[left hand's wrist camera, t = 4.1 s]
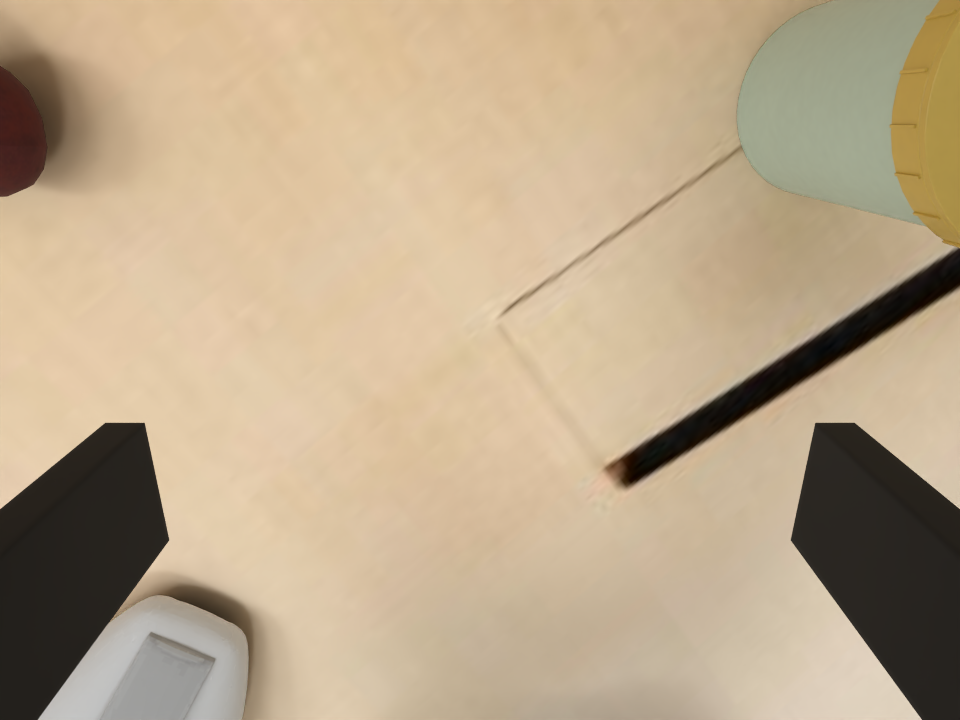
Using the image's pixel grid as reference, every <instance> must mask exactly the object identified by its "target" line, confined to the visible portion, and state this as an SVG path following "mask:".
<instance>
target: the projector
mask: <svg viewBox="0 0 960 720" xmlns="http://www.w3.org/2000/svg"><path fill="white" fill-rule="evenodd" d="M248 662H249V657H248V643H247V639H246V636H245V634H244V633H243V631H242V630H241V629H240V628H239V627H238V626H236V625H235V624H233V623H230V622H228V621H226V620H224V619H222V618H220V617H218V616H216V615H214V614H212V613H210V612H208V611H205V610H203V609H201V608H198V607H196V606H193V605H191V604H188V603H185V602H182V601H179V600H176V599H174V598H172V597H169V596H164V595H156V596H151V597H148V598H146V599H144V600H142V601H140V602H138V603H137V604H135V605H133V606H132V607H130V608H129V609H127V610H126V611H124V612H123V613H122V614H120V615H119V616H117V617H116V618H115V619H113V620H112V621H111V622H110V623H108V625H107V626H106V627H105V629H104V630H103V631H102V633H101V634H100V635H99V637H98V638H97V640H96V641H95V642H94V644H93V645H92V646H91V648H90V649H89V651H88V652H87V653H86V655H85V656H84V657H83V659H82V660H81V661H80V663H79V664H78V666H77V667H76V668H75V670H74V671H73V672H72V674H71V675H70V676H69V678H68V679H67V681H66V682H65V683H64V685H63V686H62V687H61V689H60V690H59V692H58V693H57V694H56V696H55V697H54V698H53V700H52V701H51V702H50V704H49V705H48V707H47V708H46V709H45V711H44V712H43V713H42V715H41V716H40V717H39V719H38V720H242V718H243V712H244V707H245V699H246V692H247V682H248Z"/></svg>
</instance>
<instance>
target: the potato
mask: <svg viewBox="0 0 960 720" xmlns="http://www.w3.org/2000/svg"><path fill="white" fill-rule="evenodd" d="M46 152H47V143H46V138H45V132H44V127H43V121H42V117H41V115H40V113H39V111H38V109H37V107H36V105H35V103H34V101H33V99H32V97H31V95H30V93H29V91H28V90H27V89H26V88H25V87H24V86H23V85H22V84H21V83H20V82H19V81H18V80H17V79H16V78H15V77H14V76H13V75H12V74H11V73H10V72H8V71H7V70H5V69H4V68H2V67H1V66H0V197H4V196H9V195H12V194H14V193H16V192H19V191H21V190H23V189H26V188H28V187H30V186H32V185H33V184H34V183H35V182H36V180H37V178H38V177H39V175H40V174H41V172H42V171H43V169H44V165H45V158H46Z"/></svg>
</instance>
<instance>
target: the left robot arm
mask: <svg viewBox="0 0 960 720" xmlns="http://www.w3.org/2000/svg"><path fill="white" fill-rule="evenodd" d="M168 541H169V537H168V532H167V527H166V523H165V518H164V513H163V508H162V504H161V499H160V494H159V489H158V485H157V480H156V475H155V470H154V465H153V461H152V456H151V451H150V446H149V442H148V437H147V432H146V427H145V423H105V424H104V425H102V426H101V427H100V428H99V429H97V430H96V431H95V432H94V433H93V434H91V435H90V436H89V437H88V438H86V439H85V440H84V441H83V442H82V443H80V444H79V445H78V446H77V447H76V448H74V449H73V450H72V451H71V452H69V453H68V454H67V455H66V456H65V457H63V458H62V459H61V460H60V461H58V462H57V463H56V464H55V465H54V466H52V467H51V468H50V469H49V470H47V471H46V472H45V473H44V474H43V475H41V476H40V477H39V478H38V479H37V480H35V481H34V482H33V483H32V484H30V485H29V486H28V487H27V488H26V489H24V490H23V491H22V492H21V493H19V494H18V495H17V496H16V497H15V498H13V499H12V500H11V501H10V502H9V503H7V504H6V505H5V506H4V507H2V508H1V509H0V720H38V719H39V717H40V716H41V715H42V713H43V712H44V711H45V709H46V708H47V707H48V705H49V704H50V702H51V701H52V700H53V698H54V697H55V696H56V694H57V693H58V692H59V690H60V689H61V687H62V686H63V685H64V683H65V682H66V681H67V679H68V678H69V676H70V675H71V674H72V672H73V671H74V670H75V668H76V667H77V666H78V664H79V663H80V661H81V660H82V659H83V657H84V656H85V655H86V653H87V652H88V651H89V649H90V648H91V646H92V645H93V644H94V642H95V641H96V640H97V638H98V637H99V635H100V634H101V633H102V631H103V630H104V629H105V627H106V626H107V625H108V623H109V622H110V620H111V619H112V618H113V616H114V615H115V614H116V612H117V611H118V610H119V608H120V607H121V605H122V604H123V603H124V601H125V600H126V599H127V597H128V596H129V594H130V593H131V592H132V590H133V589H134V588H135V586H136V585H137V584H138V582H139V581H140V579H141V578H142V577H143V575H144V574H145V573H146V571H147V570H148V569H149V567H150V566H151V564H152V563H153V562H154V560H155V559H156V558H157V556H158V555H159V553H160V552H161V551H162V549H163V548H164V547H165V545H166V544H167V543H168ZM791 541H792V543H793V544H794V545H795V547H796V548H797V549H798V551H799V552H800V553H801V555H802V556H803V558H804V559H805V560H806V562H807V563H808V564H809V566H810V567H811V569H812V570H813V571H814V573H815V574H816V575H817V577H818V578H819V579H820V581H821V582H822V584H823V585H824V586H825V588H826V589H827V590H828V592H829V593H830V594H831V596H832V597H833V599H834V600H835V601H836V603H837V604H838V605H839V607H840V608H841V610H842V611H843V612H844V614H845V615H846V616H847V618H848V619H849V620H850V622H851V623H852V625H853V626H854V627H855V629H856V630H857V631H858V633H859V634H860V635H861V637H862V638H863V640H864V641H865V642H866V644H867V645H868V646H869V648H870V649H871V651H872V652H873V653H874V655H875V656H876V657H877V659H878V660H879V661H880V663H881V664H882V666H883V667H884V668H885V670H886V671H887V672H888V674H889V675H890V676H891V678H892V679H893V681H894V682H895V683H896V685H897V686H898V687H899V689H900V690H901V692H902V693H903V694H904V696H905V697H906V698H907V700H908V701H909V702H910V704H911V705H912V707H913V708H914V709H915V711H916V712H917V713H918V715H919V716H920V717H921V719H922V720H960V509H959V508H958V507H956V506H955V505H954V504H953V503H951V502H950V501H949V500H948V499H947V498H945V497H944V496H943V495H942V494H941V493H939V492H938V491H937V490H936V489H934V488H933V487H932V486H931V485H930V484H928V483H927V482H926V481H925V480H923V479H922V478H921V477H920V476H919V475H917V474H916V473H915V472H914V471H913V470H911V469H910V468H909V467H908V466H906V465H905V464H904V463H903V462H902V461H900V460H899V459H898V458H897V457H895V456H894V455H893V454H892V453H891V452H889V451H888V450H887V449H886V448H884V447H883V446H882V445H881V444H880V443H878V442H877V441H876V440H875V439H874V438H872V437H871V436H870V435H869V434H867V433H866V432H865V431H864V430H863V429H861V428H860V427H859V426H858V425H856V424H855V423H815V427H814V432H813V437H812V442H811V446H810V451H809V456H808V461H807V465H806V470H805V475H804V480H803V485H802V489H801V494H800V499H799V504H798V508H797V513H796V518H795V523H794V527H793V532H792V537H791Z"/></svg>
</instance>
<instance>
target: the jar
mask: <svg viewBox="0 0 960 720" xmlns="http://www.w3.org/2000/svg"><path fill="white" fill-rule="evenodd" d="M938 2H939V0H833V1H830V2H827V3H824V4H821V5H818V6H815V7H812V8H810V9H808V10H806V11H803V12H801V13H800V14H798V15H796V16H795V17H793V18H791V19H790V20H788V21H787V22H786V23H785V24H783V25H782V26H781V27H780V28H778V29H777V30H776V31H775V32H774V33H773V34H772V35H771V36H770V37H769V38H768V39H767V41H766V42H765V43H764V44H763V46H762V47H761V48H760V49H759V51H758V53H757V54H756V56H755V57H754V59H753V60H752V62H751V64H750V66H749V68H748V70H747V72H746V75H745V78H744V80H743V83H742V86H741V90H740V94H739V99H738V107H737V126H738V134H739V138H740V142H741V146H742V148H743V151H744V153H745V155H746V157H747V159H748V161H749V162H750V164H751V165H752V167H753V168H754V169H755V170H756V172H757V173H758V174H759V175H760V176H761V177H763V178H764V179H765V180H766V181H767V182H769V183H770V184H772V185H774V186H775V187H777V188H779V189H782V190H784V191H787V192H790V193H794V194H798V195H802V196H806V197H810V198H814V199H818V200H822V201H826V202H830V203H834V204H838V205H842V206H846V207H850V208H854V209H858V210H862V211H866V212H870V213H874V214H878V215H882V216H886V217H890V218H894V219H898V220H902V221H907V222H911V223H915V224H919V225H923V226H926V225H925V224H924V223H923V222H922V221H921V220H920V218H919V217H918V216H915V215H913V212H914V211H913V210H912V208H911V206H910V205H909V203H908V201H907V199H906V197H905V195H904V194H903V192H902V189H901V186H900V184H899V181H898V178H897V176H895V175H894V173H896V172H895V167H894V161H893V157H892V146H891V128H889V126H890V124H891V122H892V109H893V104H894V99H895V94H896V89H897V85H898V82H899V79H900V76H901V74H899V73H900V71H901V70H902V69H903V66H904V63H905V61H906V58H907V56H908V54H909V52H910V49H911V47H912V45H913V43H914V40H915V38H916V37H917V35H918V33H919V31H920V30H921V28H922V26H923V24H924V23H925V21H926V19H925V17H926V16H927V15H929V14H930V13H931V11H932V10H933V9H934V7H935V6H936V4H937V3H938Z"/></svg>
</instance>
